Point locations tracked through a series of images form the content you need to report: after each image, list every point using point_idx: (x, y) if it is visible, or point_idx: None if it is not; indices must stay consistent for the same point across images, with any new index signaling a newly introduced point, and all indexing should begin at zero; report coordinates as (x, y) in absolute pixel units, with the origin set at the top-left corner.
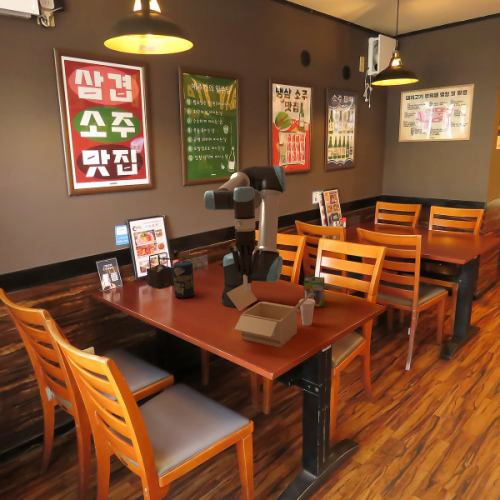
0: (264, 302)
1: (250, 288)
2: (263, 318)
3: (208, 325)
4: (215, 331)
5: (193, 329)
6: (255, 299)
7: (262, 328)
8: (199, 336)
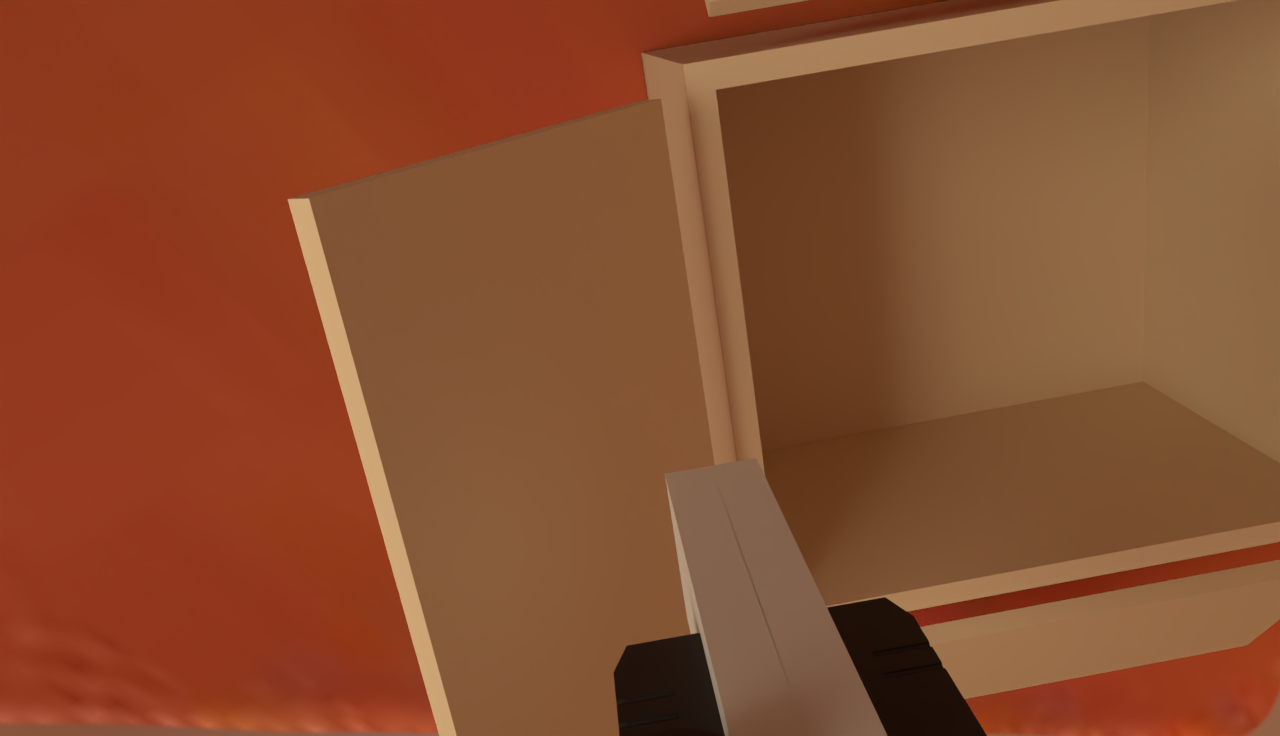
0: (760, 4)
1: (767, 484)
2: (1119, 570)
3: (111, 433)
4: (321, 498)
5: (81, 604)
6: (654, 153)
7: (1139, 645)
8: (291, 672)
